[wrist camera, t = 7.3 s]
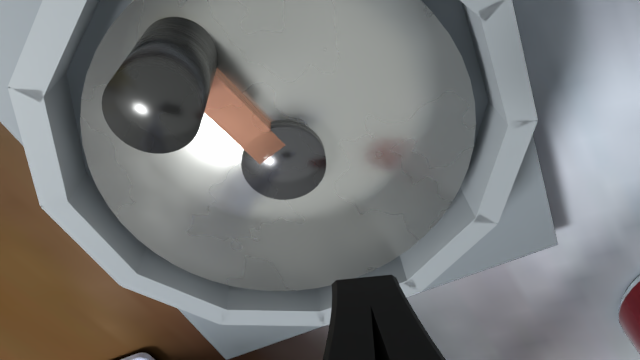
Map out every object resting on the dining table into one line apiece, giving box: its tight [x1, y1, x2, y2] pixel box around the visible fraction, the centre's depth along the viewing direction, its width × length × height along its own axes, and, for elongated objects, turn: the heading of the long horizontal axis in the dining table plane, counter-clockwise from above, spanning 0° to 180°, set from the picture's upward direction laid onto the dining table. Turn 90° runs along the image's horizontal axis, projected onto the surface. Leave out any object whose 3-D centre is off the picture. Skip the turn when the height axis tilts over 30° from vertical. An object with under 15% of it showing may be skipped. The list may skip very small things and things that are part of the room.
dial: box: [80, 0, 476, 291], centre depth 17 cm, size 14×14×5 cm
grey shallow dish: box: [0, 0, 558, 360], centre depth 19 cm, size 18×22×3 cm
